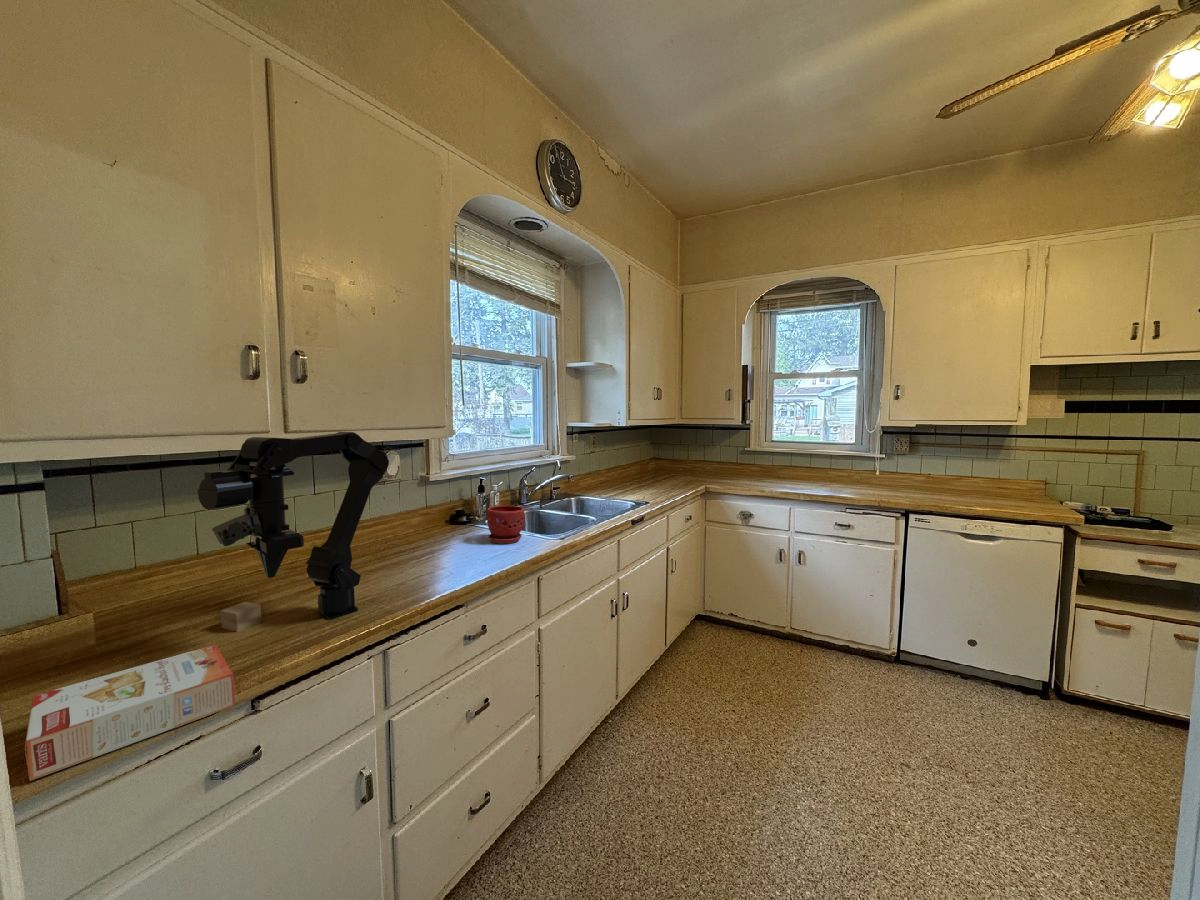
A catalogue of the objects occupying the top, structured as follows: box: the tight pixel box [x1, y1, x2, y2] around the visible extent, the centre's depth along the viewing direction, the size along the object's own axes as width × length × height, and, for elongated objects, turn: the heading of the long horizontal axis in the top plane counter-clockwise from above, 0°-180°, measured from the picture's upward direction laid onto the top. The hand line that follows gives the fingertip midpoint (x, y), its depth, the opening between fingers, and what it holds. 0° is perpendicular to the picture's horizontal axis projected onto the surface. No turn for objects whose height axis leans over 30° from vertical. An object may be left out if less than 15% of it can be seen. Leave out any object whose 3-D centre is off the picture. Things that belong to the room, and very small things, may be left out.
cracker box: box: [24, 644, 236, 781], centre depth 70 cm, size 14×6×21 cm
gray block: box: [220, 601, 262, 633], centre depth 102 cm, size 5×5×4 cm
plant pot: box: [486, 505, 525, 544], centre depth 169 cm, size 13×13×12 cm
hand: (271, 577), depth 95 cm, fingers closed
